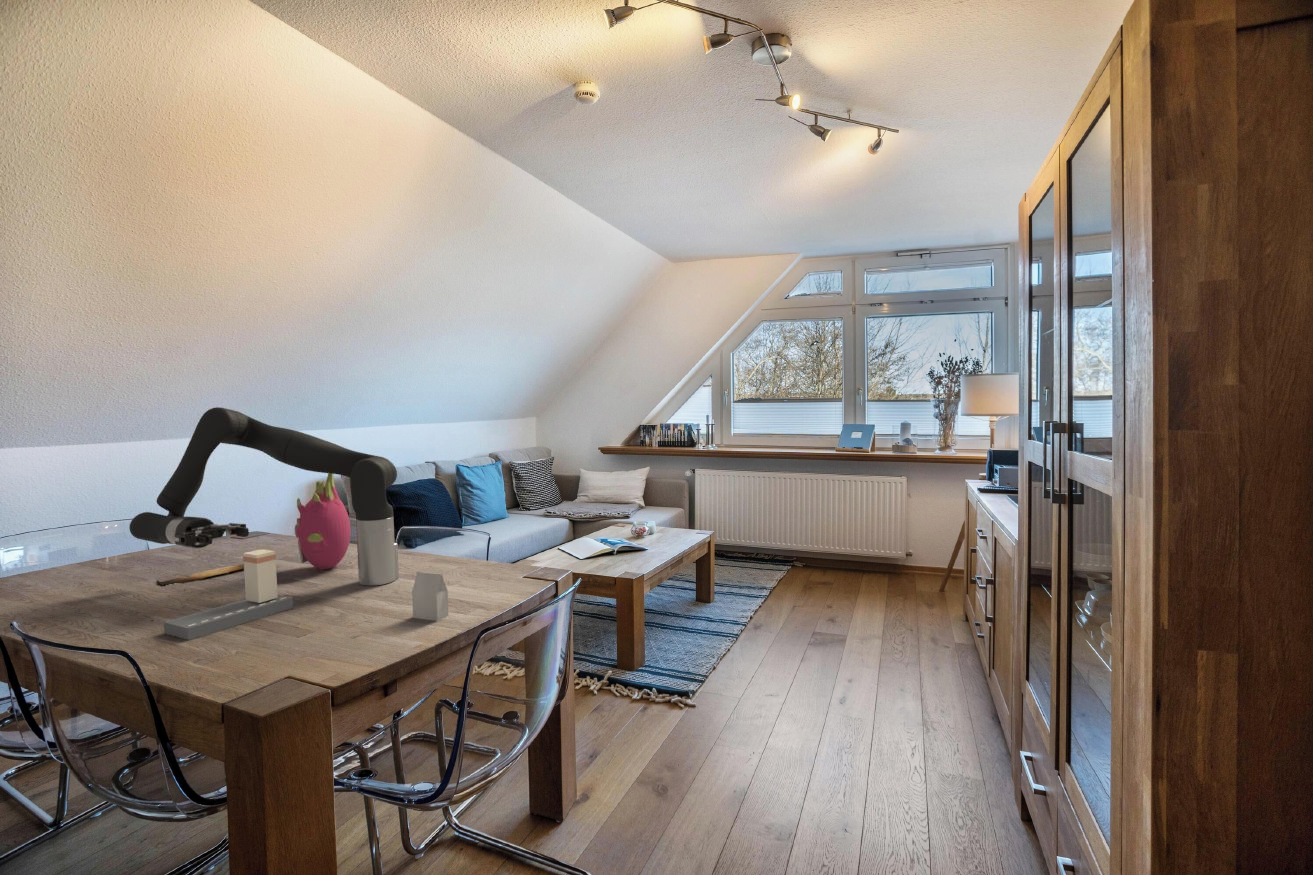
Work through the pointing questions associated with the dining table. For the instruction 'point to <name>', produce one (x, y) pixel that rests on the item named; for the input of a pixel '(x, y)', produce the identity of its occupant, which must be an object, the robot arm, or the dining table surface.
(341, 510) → the pink dragon fruit
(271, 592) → the cream block
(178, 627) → the toy road segment
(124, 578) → the dining table surface
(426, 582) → the grey milk carton
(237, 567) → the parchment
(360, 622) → the dining table surface
